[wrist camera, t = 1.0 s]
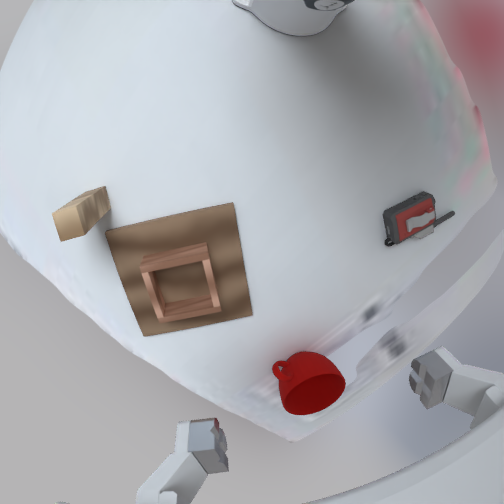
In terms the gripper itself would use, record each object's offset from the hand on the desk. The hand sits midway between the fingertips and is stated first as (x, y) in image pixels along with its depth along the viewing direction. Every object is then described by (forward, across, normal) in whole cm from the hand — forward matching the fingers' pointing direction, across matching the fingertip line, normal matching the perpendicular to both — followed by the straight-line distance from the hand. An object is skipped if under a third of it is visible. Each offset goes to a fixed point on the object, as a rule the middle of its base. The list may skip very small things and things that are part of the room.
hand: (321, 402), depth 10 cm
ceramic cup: (+41, -4, +32) cm, 52 cm away
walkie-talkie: (+40, -34, +7) cm, 53 cm away
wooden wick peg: (+34, +21, -9) cm, 41 cm away
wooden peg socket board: (+36, +12, +6) cm, 39 cm away
